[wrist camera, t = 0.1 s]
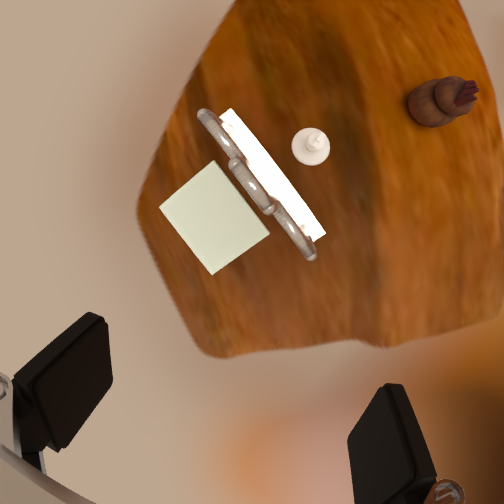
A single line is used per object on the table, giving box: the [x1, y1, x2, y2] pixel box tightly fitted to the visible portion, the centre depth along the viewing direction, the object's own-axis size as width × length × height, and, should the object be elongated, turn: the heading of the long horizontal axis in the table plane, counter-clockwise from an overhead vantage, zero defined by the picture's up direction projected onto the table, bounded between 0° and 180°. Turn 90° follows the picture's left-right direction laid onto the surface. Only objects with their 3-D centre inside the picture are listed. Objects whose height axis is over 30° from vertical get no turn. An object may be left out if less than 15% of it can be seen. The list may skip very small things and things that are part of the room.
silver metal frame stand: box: [197, 108, 325, 261], centre depth 29 cm, size 4×20×17 cm, turn 37°
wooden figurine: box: [408, 76, 480, 128], centre depth 24 cm, size 7×6×15 cm
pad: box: [159, 160, 270, 275], centre depth 39 cm, size 10×12×1 cm
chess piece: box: [292, 128, 330, 165], centre depth 30 cm, size 5×5×10 cm
